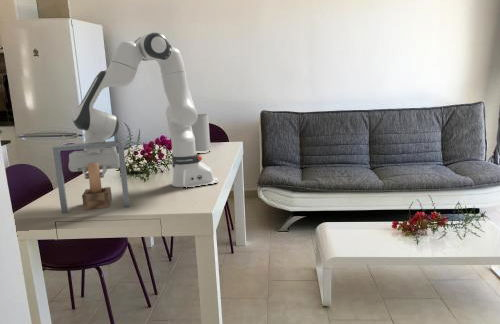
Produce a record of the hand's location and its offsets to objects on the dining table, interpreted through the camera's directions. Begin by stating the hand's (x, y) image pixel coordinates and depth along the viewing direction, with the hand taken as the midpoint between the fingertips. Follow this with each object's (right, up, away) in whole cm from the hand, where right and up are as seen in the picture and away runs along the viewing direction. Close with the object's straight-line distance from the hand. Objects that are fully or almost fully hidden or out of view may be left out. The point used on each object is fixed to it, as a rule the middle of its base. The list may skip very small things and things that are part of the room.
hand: (94, 177), depth 178 cm
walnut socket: (+1, -12, +3) cm, 12 cm away
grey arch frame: (+1, -12, -1) cm, 13 cm away
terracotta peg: (0, -6, +2) cm, 6 cm away
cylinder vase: (+31, +13, +113) cm, 118 cm away
